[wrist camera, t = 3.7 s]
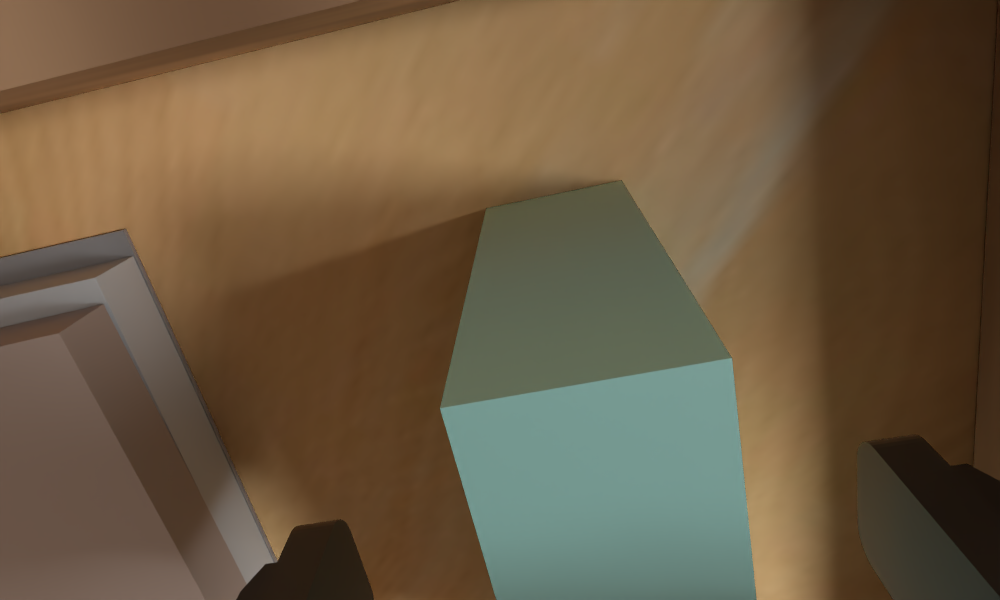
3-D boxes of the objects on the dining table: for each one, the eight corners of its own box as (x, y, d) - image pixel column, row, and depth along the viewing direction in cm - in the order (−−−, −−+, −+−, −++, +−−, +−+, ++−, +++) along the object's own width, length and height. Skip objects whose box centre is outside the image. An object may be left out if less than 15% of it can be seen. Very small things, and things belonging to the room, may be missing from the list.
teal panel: (620, 179, 12) (731, 358, 5) (684, 591, 16) (795, 993, 9) (486, 207, 12) (440, 408, 6) (579, 606, 16) (615, 1004, 9)
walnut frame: (1127, -288, 9) (1539, -507, 5) (1024, 705, 16) (1169, 902, 13) (-295, 92, 12) (-667, 120, 8) (155, 797, 19) (66, 982, 15)
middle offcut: (132, 256, 13) (95, 277, 12) (319, 661, 17) (304, 706, 16) (-136, 316, 13) (-196, 341, 12) (104, 690, 17) (75, 736, 16)
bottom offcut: (156, 213, 14) (123, 230, 12) (338, 634, 18) (326, 674, 17) (-96, 271, 14) (-148, 292, 13) (138, 663, 19) (113, 703, 18)
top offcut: (103, 304, 12) (58, 333, 11) (301, 690, 15) (283, 742, 14) (-182, 369, 12) (-251, 403, 11) (71, 723, 16) (38, 774, 15)
